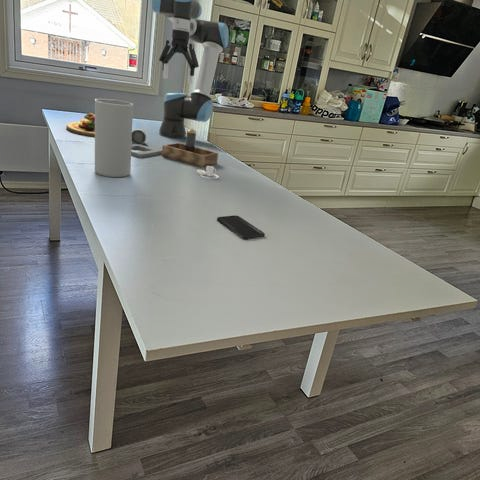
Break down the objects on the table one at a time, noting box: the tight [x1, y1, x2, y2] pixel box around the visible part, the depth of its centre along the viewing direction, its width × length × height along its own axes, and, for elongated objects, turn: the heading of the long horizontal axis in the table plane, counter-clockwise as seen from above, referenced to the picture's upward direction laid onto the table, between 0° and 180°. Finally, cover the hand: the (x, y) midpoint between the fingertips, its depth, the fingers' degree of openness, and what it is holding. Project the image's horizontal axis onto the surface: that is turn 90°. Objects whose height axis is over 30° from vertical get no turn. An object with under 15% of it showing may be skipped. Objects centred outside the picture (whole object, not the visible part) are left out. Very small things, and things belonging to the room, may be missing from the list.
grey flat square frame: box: [131, 143, 162, 159], centre depth 184 cm, size 15×15×2 cm
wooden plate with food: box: [66, 112, 95, 138], centre depth 212 cm, size 32×32×8 cm
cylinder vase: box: [94, 98, 134, 178], centre depth 144 cm, size 12×12×25 cm
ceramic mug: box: [132, 128, 147, 145], centre depth 198 cm, size 10×8×7 cm
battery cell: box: [185, 128, 197, 153], centre depth 182 cm, size 4×4×13 cm
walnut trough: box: [161, 142, 219, 168], centre depth 183 cm, size 22×12×5 cm, turn 62°
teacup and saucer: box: [196, 165, 220, 180], centre depth 165 cm, size 9×8×4 cm
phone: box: [216, 215, 266, 240], centre depth 118 cm, size 8×1×15 cm
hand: (177, 81), depth 189 cm, fingers open, 13 cm apart
